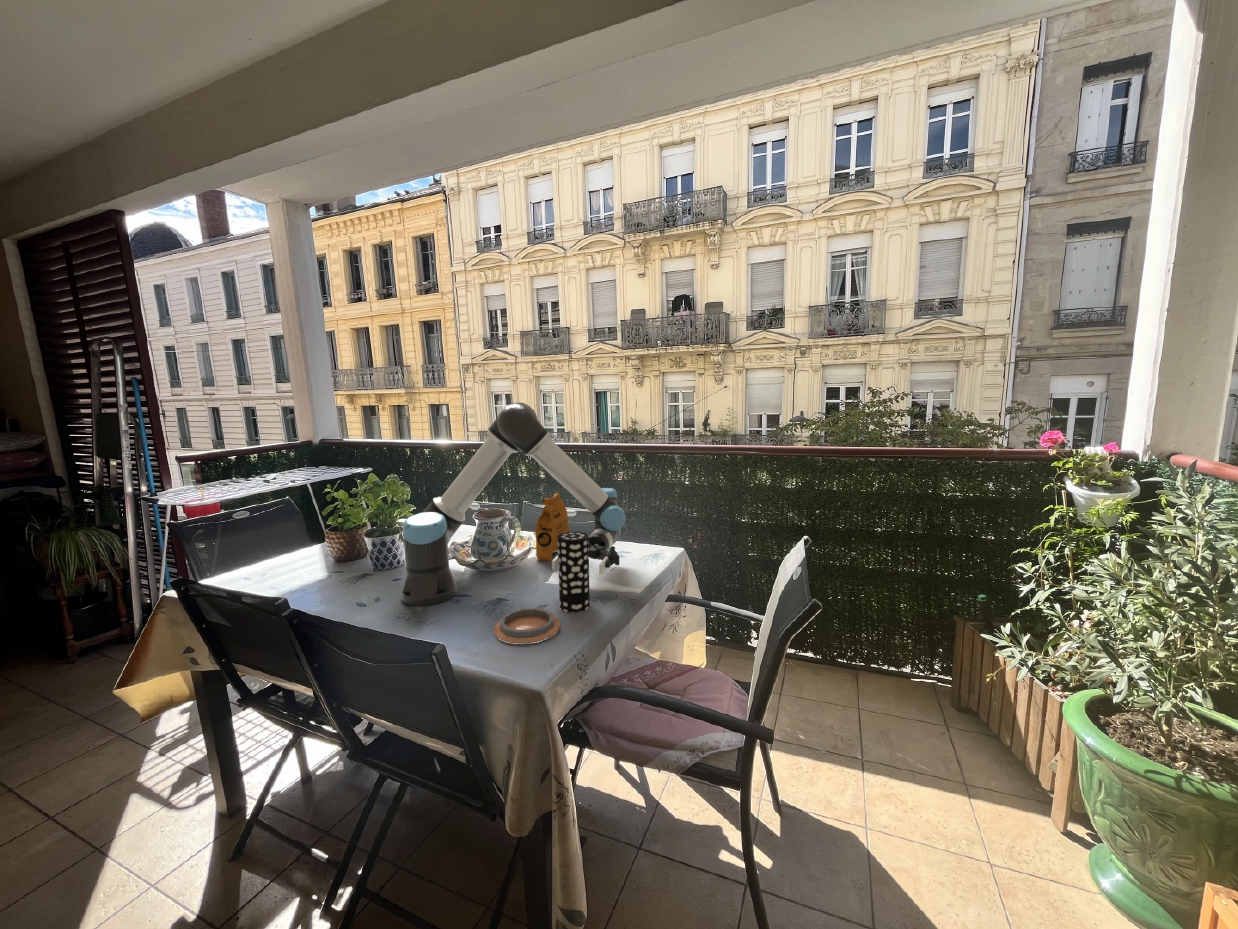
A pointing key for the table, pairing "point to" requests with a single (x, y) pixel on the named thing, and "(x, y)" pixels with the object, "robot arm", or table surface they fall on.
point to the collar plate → (527, 626)
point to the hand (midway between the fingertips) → (576, 567)
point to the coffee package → (550, 527)
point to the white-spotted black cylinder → (573, 571)
